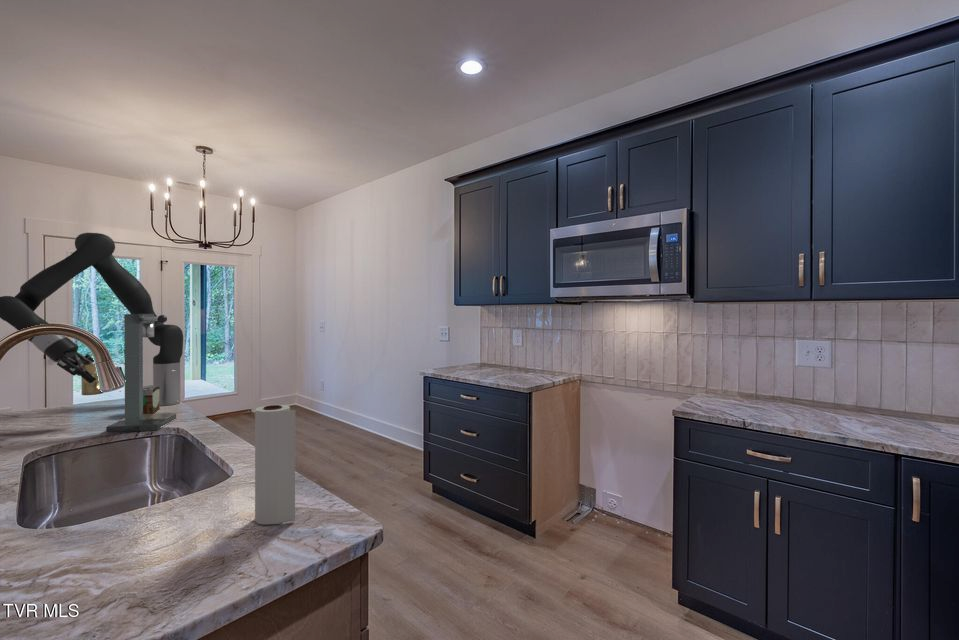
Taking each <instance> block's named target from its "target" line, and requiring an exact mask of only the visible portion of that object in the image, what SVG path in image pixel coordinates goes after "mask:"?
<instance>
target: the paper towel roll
mask: <svg viewBox="0 0 959 640" xmlns="http://www.w3.org/2000/svg"><path fill="white" fill-rule="evenodd" d="M254 416H255V417H254V419H255V420H254V460H255V461H254V463H255V464H254V470H255V471H254V521H255V523H256V524H258V525H263V526H264V525H278V524H279V525H280V524H283V523H288V522H290V523H291V522H296V409H291V407H290V405H287V404H269V405H263V406H259V407H257V408H255V411H254Z"/></svg>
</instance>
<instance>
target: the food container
mask: <svg viewBox="0 0 959 640" xmlns="http://www.w3.org/2000/svg"><path fill="white" fill-rule="evenodd" d="M160 407H161V406H160V385H153V384H151V385H143V414H155V413H156V412H157V411H158V410H160ZM158 412H159V411H158ZM158 412H157V413H158ZM157 413H156V414H157Z"/></svg>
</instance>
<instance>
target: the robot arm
mask: <svg viewBox="0 0 959 640" xmlns="http://www.w3.org/2000/svg"><path fill="white" fill-rule="evenodd" d="M74 247H75V250H74V252H72V253H71V254H69V255H68V256H67V257H65V258H63V259H62V260H60V261H58V262H55V263H54V264H52V265H50V266H48V267H46V268H44V269H42V270H41V271H39V272H38V273H36V274H35V275H33V276H32V277H31V278H30V279H28V280H27V281H25V282H23V284H22V285H20V288H19V292H18V293H17V294H16V295H15V296H12V295H3V296H0V319H1V320H2V321H4V322H6V323H7V324H9V325H10V326H12V327H13V328H14V329H16V330H17V331H18V330H21V329H23V328H27V327H31V326H35V325H40V324H50V323H49V322H48V321H46V320H45V319H43V318H41V316H39V315H38V314H37V313H35V311H36V310H37V309H38V307H39V306H40V305H41V304H42V302H43V301H44V300H46V299H47V298H49V297H50V296H52V295H53V294H54V293H55V292H56V291H58V290H59V289H60V288H61V287H63V286H65V284H67V283H68V282H70V281H71V280H72V279H73V278H75V277H77V276H78V275H79V274H81V273H82V272H84V271H85V270H87V269H89V268H90V267H93V268H94V270H96V272H97V273H98V274H99V276H100V277H101V278H102V280H103V281H104V283H106V285H107V286H108V287H109V289H110V291H112V293H113V294H114V295H115V297H116V299H118V301H119V302H120V303H121V304H122V305H123V306H124V308H126V310H127V311H128V312H129V314H154V317H158V316H157V314H156V313H155V311H154V307H153V301H152V297H151V295H150V294H149V292H148V291H147V289H146V288H145V286H144V285H143V284H142V283H141V282H140V281H139V279H137V278H136V277H135V276H134V275H133V274H132V273H131V272H130V271H128V269H126V268H125V267H124V266H122V264H120V262H118V260H117V259H116V258H115V256H114V255H113V254H114V252H115V250H116V243H115V241H114V240H113V239H112V238H111V237H110V236H109V235H107V234H104V233H100V232H99V233H98V232H83V233H80V234H78V235H77V236H76V238H75V240H74ZM164 323H165V322H164ZM164 323H160V322H158V321H154V337H147V338H148V340H149V342H150V343H152V344H153V345H154V346H156V347H157V346H158V347H159V352H158V353H157V355H154V356H153V357H152V381H153V382H152V385H160V407H163V406H172V405H177V404H180V403H181V358H182V357H183V356H182V355H183V353H184V352H183V351H184V350H183V349H184V348H183V347H184V333H183V330H182V329H181V327H179V326H178V325H177V324H164ZM65 336H66V335H65ZM65 336H61V335H42V336H36V337H32V338H30V339H27V341H29V342H31V344H33V345H34V346H35V348H37V349H38V350H39V351H40V352H42V353H43V354H44V355H45V356H46V357H48V358H49V359H50V360H52V361H53V362H54V363H56V366H58V367H59V368H61V369H62V370H64V371H66V372H67V373H69V374H70V375H72V376H75V377H76V376H78V377H82V378H84V379H85V380H86V381H87V382H89V383H92V382H94V381H95V380H96V377H94V376H93V375H92V374H91V373H89V372H88V371H86V369H85V368H84V367H83V365H84V364H90V362H94V360H95V359H94V358H93V356H91V355H90V354H87V353H86V355H83V354H82V353H80V352H78V350H79V345H78V344H77V343H75V342H74V341H72V340H71V339H70V338H69V337H68V336H66V337H65ZM93 359H94V360H93ZM177 400H178V401H179V402H180V403H179V402H178V401H177Z"/></svg>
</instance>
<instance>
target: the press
mask: <svg viewBox="0 0 959 640" xmlns="http://www.w3.org/2000/svg"><path fill="white" fill-rule="evenodd" d="M123 317H124V318H123V320H124V326H123V327H124V329H123V330H124V331H123V332H124V333H123V334H124V340H123V341H124V342H123V343H124V344H123V345H124V417H123V418H122V419H119V420H118V421H116V422H114V423H112V424H110V425H108V426H106V428H105V431H106V432H117V433H133V432H150V431H153V432H154V431H159V430H160V429H161V428H160V427H161V426H163V425H165V424H167V423H169V422H171V421H172V420H174V419H176V420H177V413H176V412H167V413H166V412H165V413H156V414H143V387H144V376H143V375H144V373H143V372H144V367H143V365H144V364H143V363H144V360H143V359H144V358H143V356H144V355H143V354H144V352H143V351H144V348H143V347H144V345H143V344H144V342H143V338H148V337H154V321H158V322H160V323H166V322H167V321H168V317H167V316H166V315H165V314H161V315H159V316H157V317H154V314H131V313H124V315H123ZM125 380H126V382H125ZM174 421H175V420H174ZM172 422H173V421H172ZM172 422H171V423H172ZM169 424H170V423H169ZM167 425H168V424H167ZM106 432H105V433H106Z"/></svg>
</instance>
